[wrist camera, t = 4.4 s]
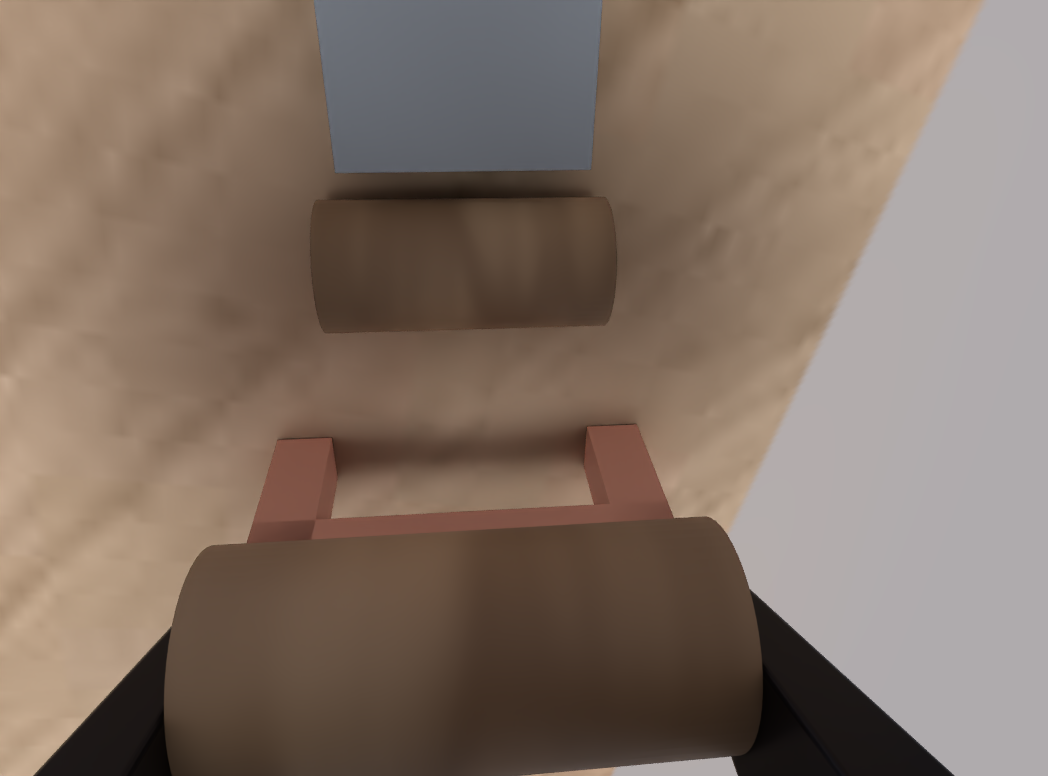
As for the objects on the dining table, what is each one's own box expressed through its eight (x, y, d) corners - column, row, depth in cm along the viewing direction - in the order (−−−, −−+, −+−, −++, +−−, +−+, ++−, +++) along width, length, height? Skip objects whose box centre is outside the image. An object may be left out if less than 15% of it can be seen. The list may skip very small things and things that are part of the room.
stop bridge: (631, 464, 23) (681, 604, 18) (285, 480, 22) (245, 633, 17) (636, 424, 22) (690, 560, 17) (277, 439, 21) (232, 589, 16)
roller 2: (670, 605, 12) (729, 799, 9) (257, 633, 11) (210, 848, 9) (701, 470, 10) (784, 668, 8) (212, 495, 9) (139, 720, 7)
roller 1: (621, 223, 15) (595, 179, 18) (304, 228, 15) (322, 182, 17) (609, 348, 17) (586, 291, 19) (323, 357, 16) (337, 297, 19)
